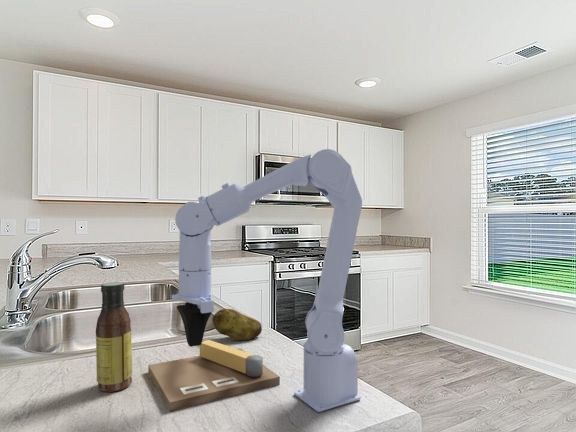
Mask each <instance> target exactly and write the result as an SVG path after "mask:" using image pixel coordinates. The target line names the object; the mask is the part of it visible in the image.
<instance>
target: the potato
mask: <svg viewBox="0 0 576 432" xmlns="http://www.w3.org/2000/svg"><path fill="white" fill-rule="evenodd" d="M212 324H213V327H214V328H215V330H216V331H217V333H219V334H220V335H222V336H225V337H226V336H227V337H228V338H230V339H231V340H235V341H236V340H237V341H246V340H252V339H255V338H256V337H259V335H261V333H262V330H263V329H262V328H263V327H262V323H261V322H260V321H259V320H257V319H255V318H253V317H250V316H247V315H245V314H243V313H241V312H239V311H238V310H235V309H232V308H222V309H219V310H218V311H217V312H216V313H214V315H213V317H212Z"/></svg>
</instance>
